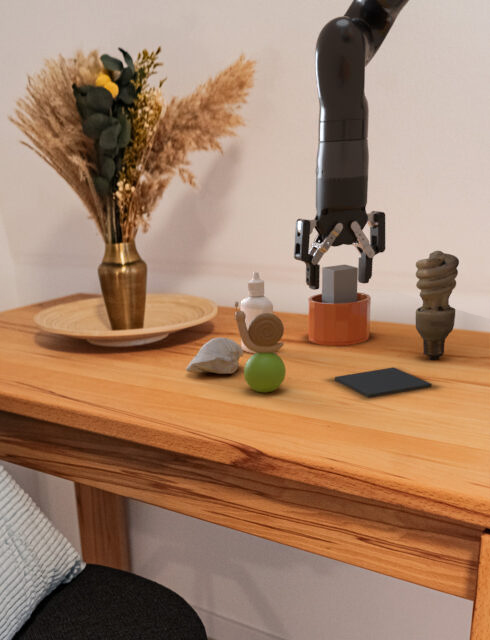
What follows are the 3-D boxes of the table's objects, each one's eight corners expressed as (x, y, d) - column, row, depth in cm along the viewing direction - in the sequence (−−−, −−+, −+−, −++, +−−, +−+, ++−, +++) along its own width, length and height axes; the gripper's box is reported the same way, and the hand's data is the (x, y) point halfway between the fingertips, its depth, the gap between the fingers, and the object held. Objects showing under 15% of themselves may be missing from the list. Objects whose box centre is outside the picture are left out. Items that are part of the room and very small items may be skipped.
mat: (393, 371, 116) (393, 367, 115) (431, 388, 108) (431, 383, 107) (334, 381, 114) (334, 376, 113) (368, 398, 106) (368, 394, 105)
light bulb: (422, 366, 117) (429, 255, 110) (403, 357, 121) (408, 250, 115) (459, 361, 118) (468, 250, 111) (438, 352, 122) (446, 246, 116)
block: (343, 330, 136) (345, 264, 132) (356, 335, 133) (358, 267, 128) (321, 334, 135) (322, 267, 131) (333, 339, 132) (334, 270, 127)
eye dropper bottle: (247, 356, 128) (245, 276, 123) (239, 348, 133) (237, 270, 128) (275, 353, 129) (274, 273, 124) (266, 345, 134) (265, 268, 129)
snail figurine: (237, 387, 114) (234, 298, 109) (284, 385, 114) (284, 295, 109) (236, 399, 110) (233, 306, 105) (286, 397, 109) (285, 303, 104)
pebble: (242, 380, 117) (241, 345, 115) (184, 382, 118) (182, 347, 116) (244, 363, 125) (243, 330, 123) (190, 365, 126) (188, 332, 124)
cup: (350, 329, 139) (351, 289, 137) (380, 340, 131) (381, 298, 128) (298, 336, 137) (298, 296, 135) (325, 349, 129) (326, 306, 126)
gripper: (309, 178, 119) (308, 295, 125) (398, 170, 122) (392, 284, 129) (286, 177, 125) (286, 287, 132) (371, 169, 129) (367, 277, 135)
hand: (338, 285), depth 130 cm, fingers open, 8 cm apart
